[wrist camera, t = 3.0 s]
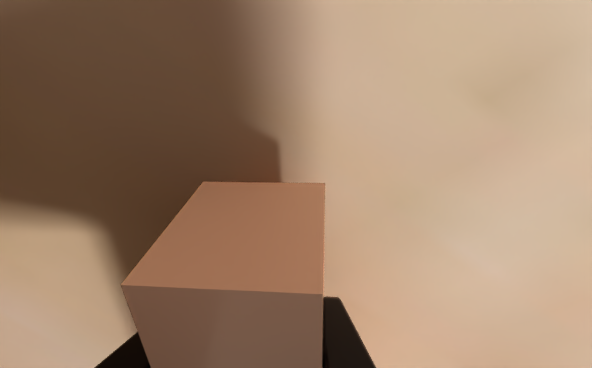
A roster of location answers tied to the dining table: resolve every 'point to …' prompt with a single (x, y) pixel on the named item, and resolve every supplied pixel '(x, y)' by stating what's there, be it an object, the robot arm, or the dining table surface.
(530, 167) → the dining table surface
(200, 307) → the clay strip
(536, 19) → the dining table surface
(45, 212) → the dining table surface
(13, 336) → the dining table surface
